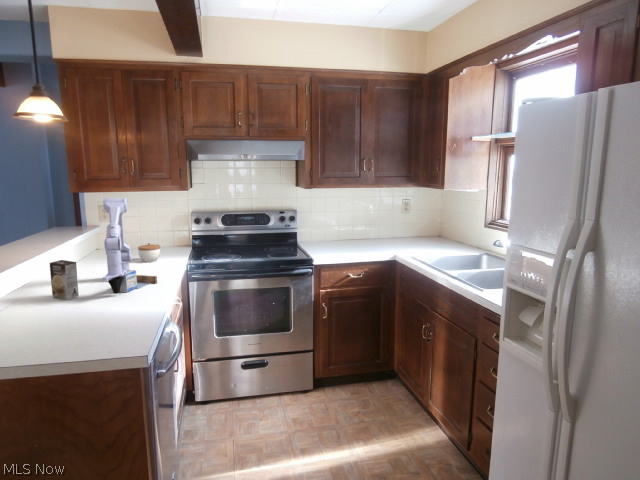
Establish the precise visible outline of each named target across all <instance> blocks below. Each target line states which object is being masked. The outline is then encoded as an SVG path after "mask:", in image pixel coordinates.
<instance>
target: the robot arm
mask: <svg viewBox="0 0 640 480" xmlns="http://www.w3.org/2000/svg"><path fill="white" fill-rule="evenodd" d="M103 210H104V211H105V212H106V213H107V214H109V224H107V226H106V234H105V236H106V237H105V238H104V240H103V241H104V243H103V244H104V245H103V246H104V249H105V255H106V262H107V263H106V265H107V274H106V275H105V276H102V282H104V283H105V282H106V283H108V284H109V285H110V287H111V290H112V293H113V294H116V295H118V294H120V293H121V292H120V287H121V284H122V281H123V279H124V277H121V276H123V275H124V274H126V273H127V270H131V269H130V262H131V261H132V258H133V255H132V253H133V252H132V250H131V246H130V245H129V244H127V243H125V234H124V233H125V232H124V220H123V216H124V215H123V214H124V213H127V212H128V202H127V198H126V197H104V199H103Z"/></svg>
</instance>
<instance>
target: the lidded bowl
mask: <svg viewBox="0 0 640 480" xmlns="http://www.w3.org/2000/svg"><path fill="white" fill-rule="evenodd" d="M137 248H138V256H139V257H140V260H142V261H143V262H144V263H153V262H154V261H155V262H157V260H158V259H159V258H160V256H161V245H159V244H151V243H150V242H149V243H147V244H142V245H139V246H137Z"/></svg>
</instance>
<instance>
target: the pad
mask: <svg viewBox="0 0 640 480" xmlns="http://www.w3.org/2000/svg"><path fill="white" fill-rule="evenodd" d="M149 284H151V283H142V282H137V288H135V290H138V289H142V288H143V287H145V286H148V285H149Z"/></svg>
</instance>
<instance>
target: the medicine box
mask: <svg viewBox="0 0 640 480" xmlns="http://www.w3.org/2000/svg"><path fill="white" fill-rule="evenodd" d="M136 275H137V270H134V269H130V270H127V273H126V274H124V275H123V276H121V277H124V279H123V281H122V284H121V287H120V292H119V293H129V292H131V291H133V290H134V289H135V288H137V277H136ZM135 290H136V289H135Z"/></svg>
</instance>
